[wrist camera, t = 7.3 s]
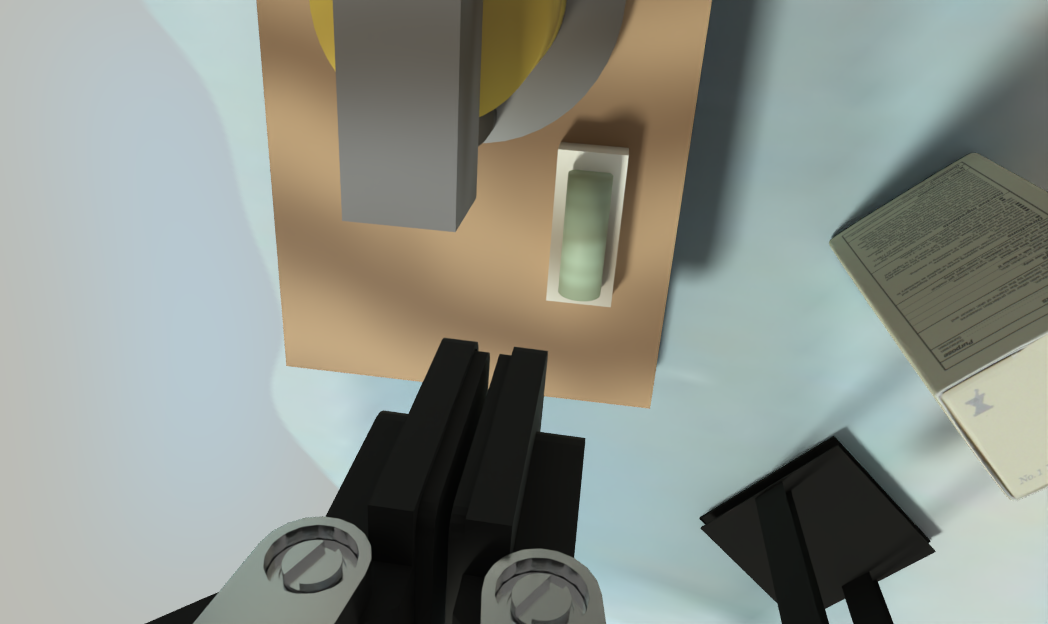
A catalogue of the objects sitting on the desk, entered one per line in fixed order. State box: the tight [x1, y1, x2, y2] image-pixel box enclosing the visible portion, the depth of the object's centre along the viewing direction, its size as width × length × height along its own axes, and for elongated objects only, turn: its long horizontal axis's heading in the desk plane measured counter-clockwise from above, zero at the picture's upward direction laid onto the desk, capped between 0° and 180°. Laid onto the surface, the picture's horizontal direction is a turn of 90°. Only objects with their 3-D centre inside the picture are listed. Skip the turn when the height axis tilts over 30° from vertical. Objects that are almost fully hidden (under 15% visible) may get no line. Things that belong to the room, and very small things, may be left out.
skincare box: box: [829, 153, 1048, 501], centre depth 25 cm, size 6×4×12 cm
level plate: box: [257, 0, 712, 408], centre depth 22 cm, size 22×14×10 cm, turn 177°
